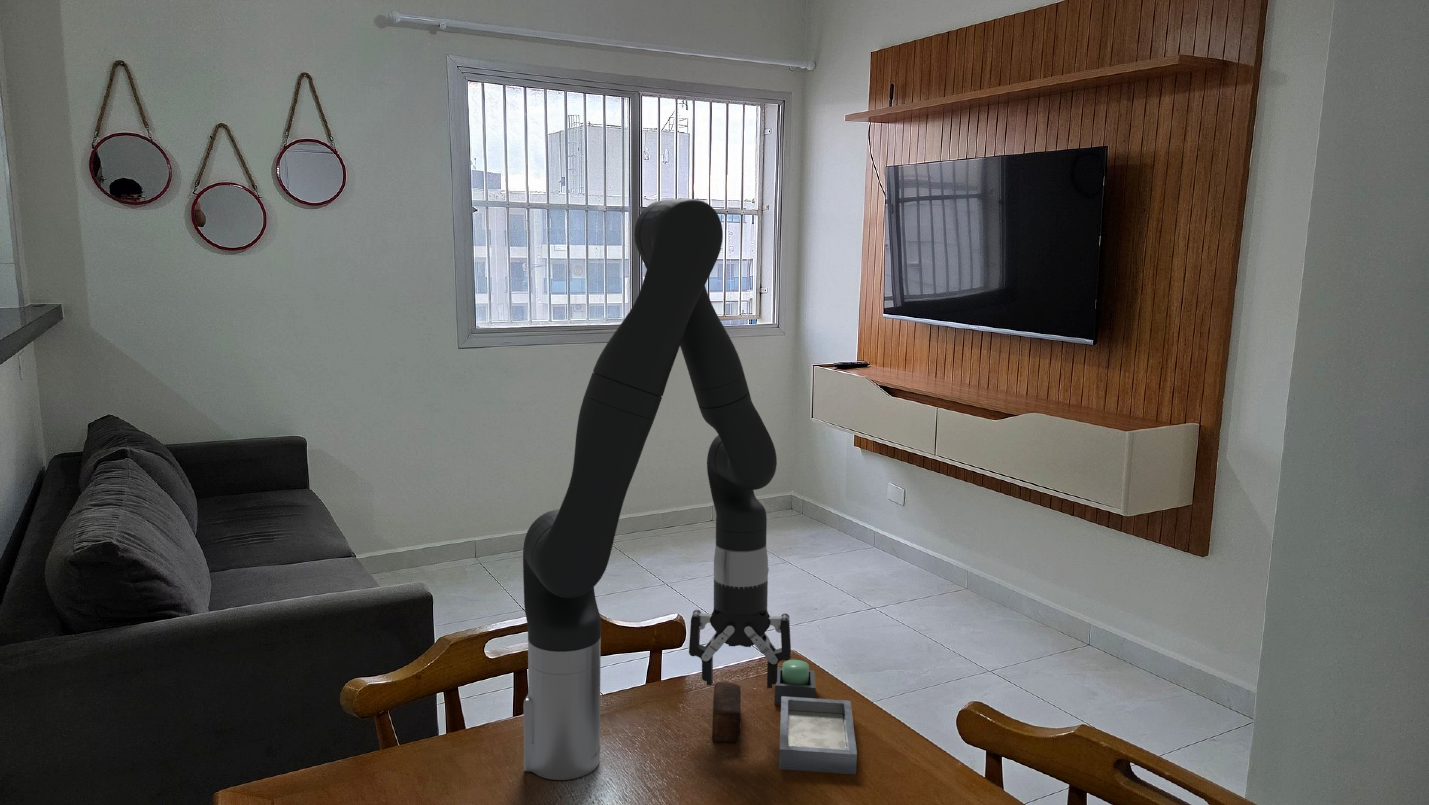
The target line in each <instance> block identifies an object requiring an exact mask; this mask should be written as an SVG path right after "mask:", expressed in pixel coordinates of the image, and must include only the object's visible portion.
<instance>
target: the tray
mask: <svg viewBox="0 0 1429 805" xmlns="http://www.w3.org/2000/svg"><path fill="white" fill-rule="evenodd" d="M852 711H853V710H852V702H851V700H842V699H830V698H829V699H828V698H816V697H815V698H800V697H785V696H781V705H780V720H779V721H780V724H779V727H780V728H779V750H778V752H779V753H778V754H779V755H778V770H784V771H785V770H787V771H788V770H789V771H799V772H813V773H815V772H816V773H828V774H829V773H830V774H841V775H842V774H844V775H854V776H856V775H857V762H858V761H857V760H858V751H857V744H856V736H855V735H856V734H855V727H854V719H853V712H852Z"/></svg>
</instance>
